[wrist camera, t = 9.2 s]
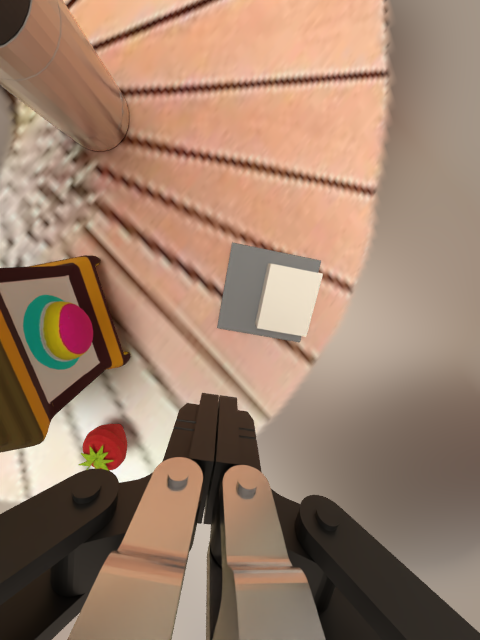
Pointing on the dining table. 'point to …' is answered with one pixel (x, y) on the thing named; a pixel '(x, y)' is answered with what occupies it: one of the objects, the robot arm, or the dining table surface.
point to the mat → (253, 287)
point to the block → (287, 299)
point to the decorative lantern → (50, 343)
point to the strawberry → (105, 447)
